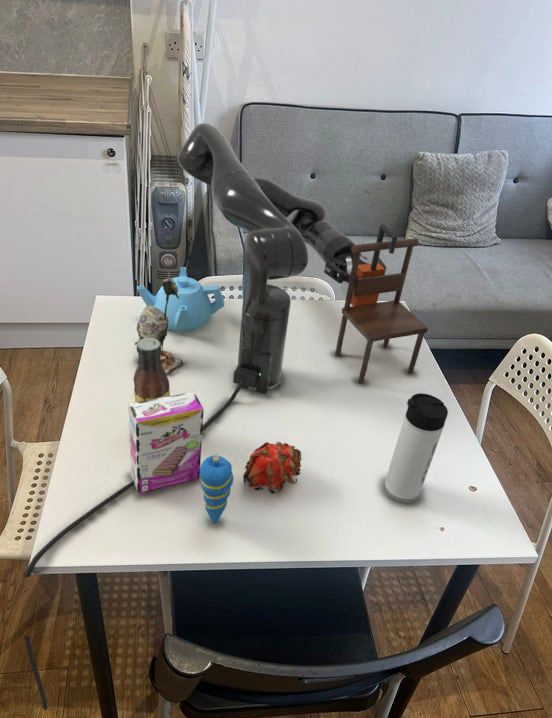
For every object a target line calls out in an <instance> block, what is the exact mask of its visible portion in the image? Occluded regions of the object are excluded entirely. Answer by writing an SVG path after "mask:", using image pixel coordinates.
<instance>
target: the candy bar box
mask: <svg viewBox="0 0 552 718" xmlns="http://www.w3.org/2000/svg"><path fill="white" fill-rule="evenodd" d="M204 412H205V409H204V407H203V405H202V403H201V402H200V400H199V397H198V396H197V394H196V392H195V391H191V392H185V393H180V394H174V395H170V396H169V397H163V398H158V399H152V400H147V401H142V402H136V403H135V402H131V403H128V427H129V448H130V449H129V455H130V475H131V479H132V481H133V480H134V483H135V485H134V487H135V489H136V492H137V494H138V495H142V494H145V493H149V492H155V491H158V490H161V489H165V488H169V487H174V486H177V485H181V484H186V483H190V482H193V481H198V480H200V478H201V477H200V467H201V461H202V444H203V443H202V440H203V432H202V429H203V425H204Z"/></svg>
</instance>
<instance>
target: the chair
mask: <svg viewBox="0 0 552 718" xmlns="http://www.w3.org/2000/svg"><path fill="white" fill-rule="evenodd" d="M419 244H420V241H419V239H418V237H417V238H416V237H415V238H405V239H397V241H396V246H395V249H403V248H406V250H405V254H404V258H403V262H402V265H401V271H400V272H399V273H391V274H385V275H382V276H375V277H367V278H359V279H357V281H356V286H355V291H354V297H358V296H365V295H372V294H379V295H380V294H384V293H385V294H386V293H393V292H395V295H394V298H393V299H394V300H393V299H392V300H387V301H380V302H377V303H373V304H366V305H359V306H352V305H351V299H352V294H353V289H354V284H355V280H356V275H357V270H358V265H359V260H360V255H362V253H369V252H374V251H378V250H380V251H386V250H389V249H390V245H391V240H386V241H382V242H377V243H376V242H368V243H359V244H355V245H352V247H351V251H352V253H355V254H354V259H353V265H352V270H351V275H350V280H349V284H348V286H347V291H346V296H345V301H344V307H341V308H342V309H341V314H342V316H341V322H340V326H339V331H338V337H337V340H336V341H337V342H336V348H335V352H334V356H336V357H340V356H341V354H342V348H343V343H344V339H345V334H346V329H347V324H348V322H350V324H351V325H352V326H353V327H354V328H355V329H356V330H357V331H358V332H359V333H360V334H361V335H362V336H363V337H364V338H365V340H366V345H365V350H364V353H363V358H362V363H361V366H360V371H359V376H358V380H357V383H358V384H360V385H363V384H364V383H365V379H366V375H367V369H368V365H369V361H370V357H371V352H372V348H373V345H374V343H375V342H380V341H383V343H382V348H384V349H387V348H388V347H389V343H390V340H391V339H398V338H403V337H409V336H415V335H417V337H416V340H415V344H414V346H413V347H414V348H413V351H412V355H411V359H410V362H409V365H408V367H407V374H408V375H413V374H414V371H415V367H416V364H417V361H418V357H419V353H420V350H421V347H422V343H423V340H424V338H425V337H424V336H425V334H427V333H428V329H429V328H428V326H426V325H425V324H424V322H422V321H421V319H419V318H418V317H417V316H416V315H415V314H413V313H412V312H411V311H410V310H409V309H408V308H407V307H406V306H405V305H403V304H402V302H400V301H401V296H402V293H403V288H404V285H405V281H406V278H407V273H408V269H409V265H410V262H411V259H412V254H413V250H414V247H418V246H419Z"/></svg>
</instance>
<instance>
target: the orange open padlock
mask: <svg viewBox="0 0 552 718" xmlns="http://www.w3.org/2000/svg"><path fill="white" fill-rule="evenodd" d="M385 234H386V235H387V236H388V237H390V238H391V240H390V241H391V245H390V249H388V254H390V255H391V254H393V255H394V254H395V250H396V248H395V246H396V241H397V240H398V235H397V234H395V233H394V232H393V231H392V230H391V229H390V228H388V227H387V226H386V224H380V225H379V228H378V233H377V237H376V241H375V243H377V242H384V241H383V240H384V236H385ZM380 253H381V250H378V251H373V255H372V258H371V259H372V263H371V264H363V265H358V270H357V276H358V277H359V278H367V277H375V276H382V275H384V271H385V269H384V268H383V267H382V266H381V265H380V264H379V263H378V259H379V258H380ZM385 272H386V271H385ZM354 291H355V288H354V289H353V294H352V299H351V304H350V306H351V307H352V306H359V305H366V304H373V303H378V300H379V296H380V293H379V294H372V295H365V296H358V297H354Z"/></svg>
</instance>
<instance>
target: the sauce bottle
mask: <svg viewBox="0 0 552 718" xmlns="http://www.w3.org/2000/svg"><path fill="white" fill-rule="evenodd" d="M138 340H139V339H138ZM138 340H137V341H138ZM161 350H162V346H161V343H160V342H159V341H158V340H157V339H155V338H144V339H141V340H139V341H138V342H137V345H136V352H137V354H138V355H137V356H138V361H139V364H138V366H137V367H136V369H135V371H134V375H133V385H134V388H133V393H134V403H136V402H142V401H147V400H152V399H158V398H163V397H169V396H171V389H170V381H169V378H168V375H167V373H165V371H164V368H163V366H162V363H161V356H160V352H161Z"/></svg>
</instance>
